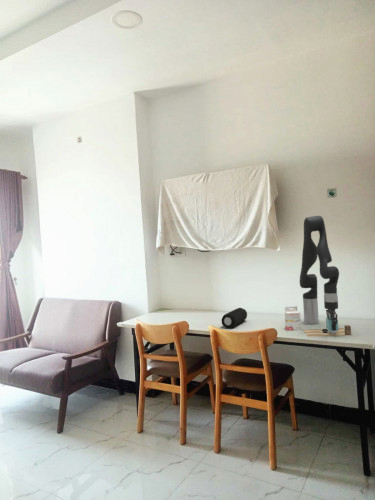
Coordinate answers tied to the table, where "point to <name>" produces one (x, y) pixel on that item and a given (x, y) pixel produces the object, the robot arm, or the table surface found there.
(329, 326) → the aqua square block
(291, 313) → the ink cartridge box
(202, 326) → the table surface
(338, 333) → the oak board
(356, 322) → the table surface
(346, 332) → the walnut post
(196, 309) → the table surface
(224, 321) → the portable speaker
